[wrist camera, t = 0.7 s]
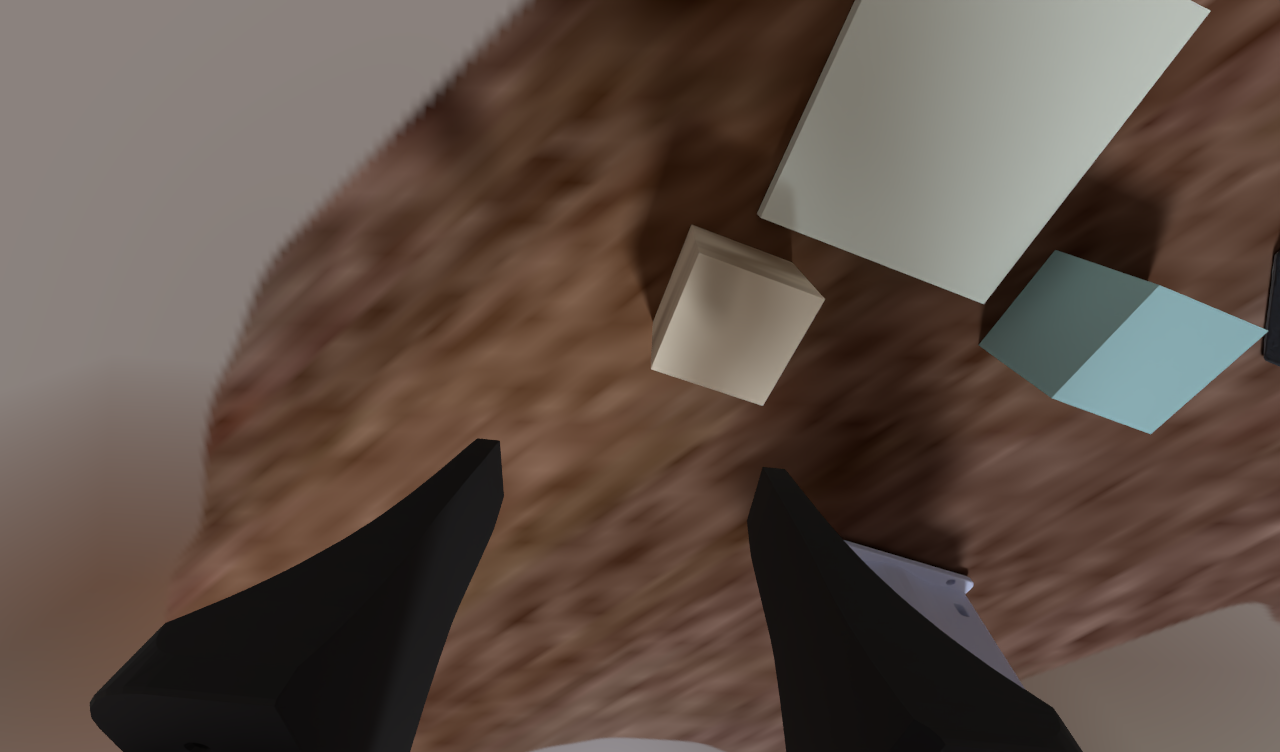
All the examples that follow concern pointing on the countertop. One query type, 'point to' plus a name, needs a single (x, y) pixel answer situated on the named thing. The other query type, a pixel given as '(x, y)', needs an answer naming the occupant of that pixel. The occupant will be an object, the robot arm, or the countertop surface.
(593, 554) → the countertop surface
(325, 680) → the robot arm
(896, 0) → the baseplate
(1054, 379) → the brick top
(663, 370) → the brick base
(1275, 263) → the box
